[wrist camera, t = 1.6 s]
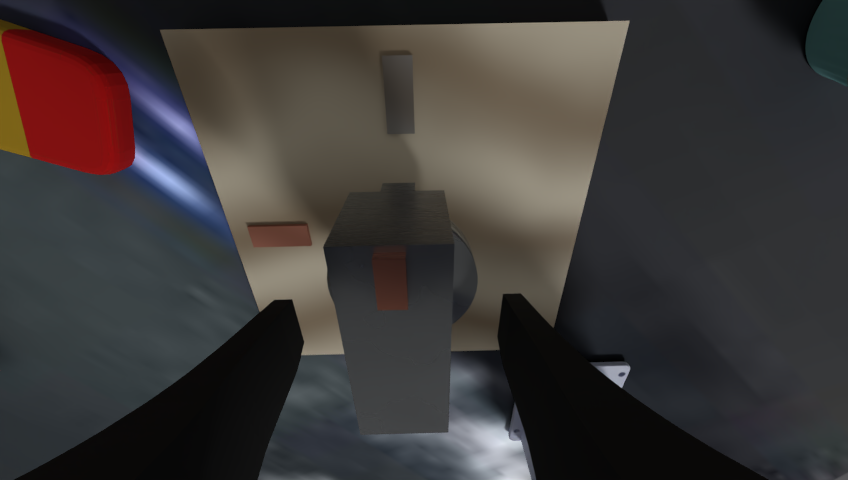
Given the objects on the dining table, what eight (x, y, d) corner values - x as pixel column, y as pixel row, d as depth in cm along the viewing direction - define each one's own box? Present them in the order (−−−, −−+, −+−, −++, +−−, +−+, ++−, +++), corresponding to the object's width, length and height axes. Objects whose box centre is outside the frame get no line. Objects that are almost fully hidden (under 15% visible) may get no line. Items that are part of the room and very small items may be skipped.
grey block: (468, 333, 16) (487, 439, 12) (346, 336, 16) (320, 444, 12) (479, 177, 12) (515, 248, 8) (318, 181, 12) (259, 254, 8)
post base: (541, 331, 23) (566, 389, 19) (283, 338, 23) (255, 397, 19) (609, 23, 14) (685, 12, 10) (184, 32, 14) (90, 23, 10)
